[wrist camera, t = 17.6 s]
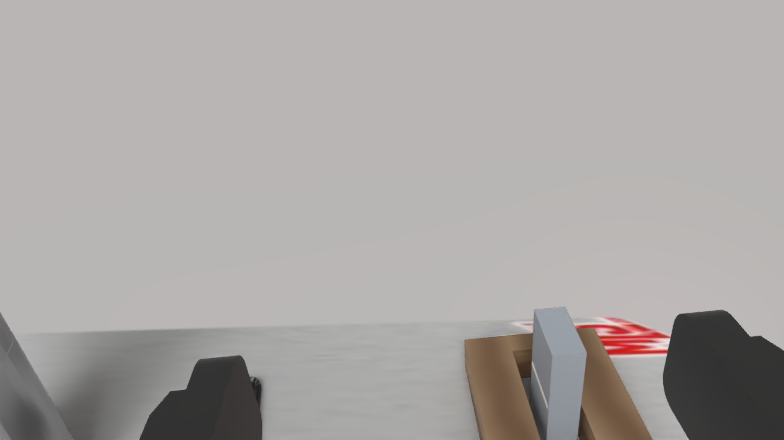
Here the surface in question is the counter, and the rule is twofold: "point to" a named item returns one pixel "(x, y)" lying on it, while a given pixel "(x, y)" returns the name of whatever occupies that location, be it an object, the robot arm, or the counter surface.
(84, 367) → the counter surface
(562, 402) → the domino
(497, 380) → the rack
